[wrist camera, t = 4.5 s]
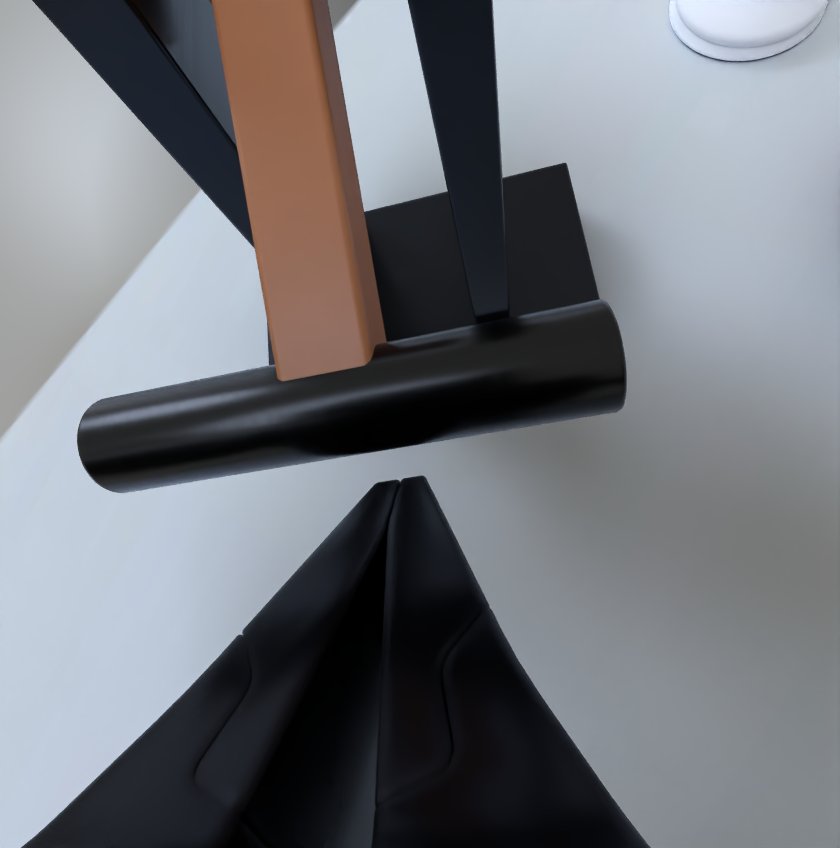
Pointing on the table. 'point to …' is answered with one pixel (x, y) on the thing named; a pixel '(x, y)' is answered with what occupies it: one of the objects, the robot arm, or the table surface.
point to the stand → (387, 227)
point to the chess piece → (744, 26)
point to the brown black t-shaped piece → (335, 306)
